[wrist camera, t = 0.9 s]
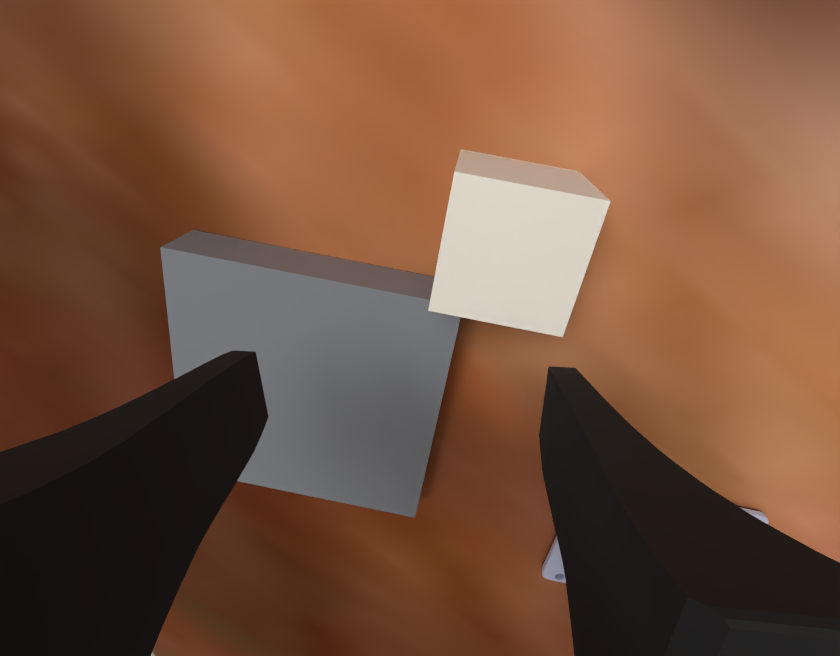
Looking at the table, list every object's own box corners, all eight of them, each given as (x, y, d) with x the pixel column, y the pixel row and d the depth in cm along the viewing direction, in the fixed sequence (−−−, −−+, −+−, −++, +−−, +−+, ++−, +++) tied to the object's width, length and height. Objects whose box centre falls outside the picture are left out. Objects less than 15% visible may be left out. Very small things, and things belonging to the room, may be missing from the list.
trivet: (465, 282, 20) (463, 306, 18) (420, 482, 26) (414, 517, 24) (193, 229, 21) (160, 246, 18) (207, 438, 26) (184, 469, 24)
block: (578, 171, 18) (610, 201, 13) (544, 280, 20) (562, 337, 16) (460, 149, 18) (454, 171, 14) (439, 259, 20) (428, 310, 16)
